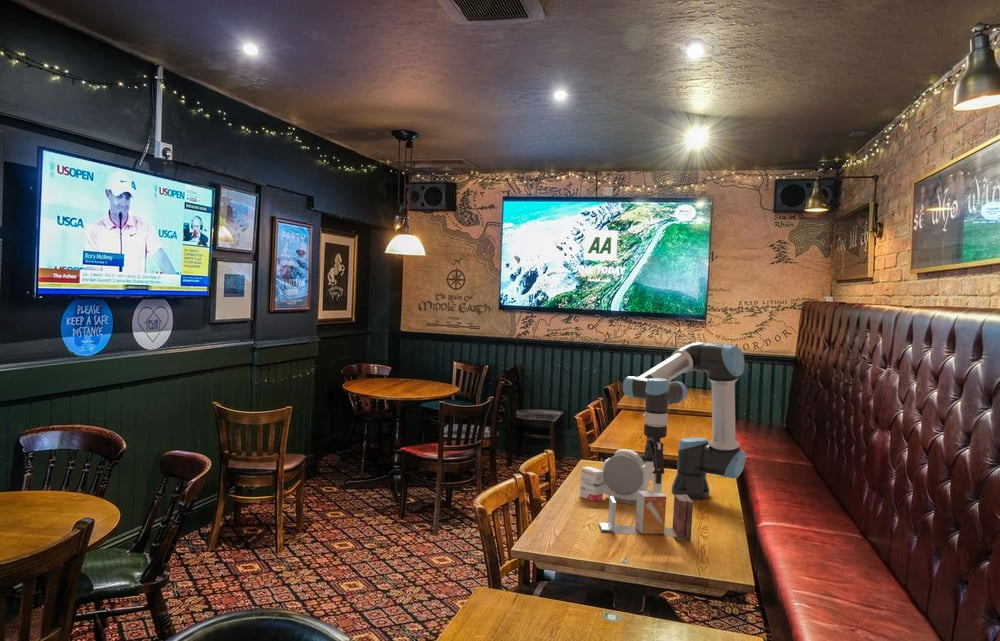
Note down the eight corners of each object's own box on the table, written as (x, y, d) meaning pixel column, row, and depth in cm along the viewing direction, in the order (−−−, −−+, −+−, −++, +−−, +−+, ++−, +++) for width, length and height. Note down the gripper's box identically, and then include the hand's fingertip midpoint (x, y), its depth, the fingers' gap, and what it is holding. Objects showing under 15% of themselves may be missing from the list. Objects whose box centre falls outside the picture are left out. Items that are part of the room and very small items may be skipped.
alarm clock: (648, 502, 257) (651, 451, 256) (643, 508, 249) (646, 456, 248) (605, 493, 265) (607, 444, 264) (598, 499, 257) (601, 449, 256)
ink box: (603, 500, 257) (604, 470, 256) (594, 502, 254) (595, 472, 253) (587, 494, 263) (589, 465, 263) (578, 496, 260) (580, 467, 260)
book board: (684, 532, 225) (686, 494, 224) (690, 541, 217) (693, 502, 216) (597, 528, 225) (599, 490, 225) (600, 537, 217) (602, 497, 217)
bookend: (611, 524, 225) (613, 496, 224) (614, 532, 218) (616, 502, 217) (599, 523, 225) (600, 495, 224) (602, 531, 218) (603, 502, 217)
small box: (642, 534, 217) (644, 496, 217) (634, 527, 223) (636, 490, 223) (664, 534, 219) (666, 496, 218) (656, 527, 225) (658, 490, 224)
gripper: (637, 416, 232) (634, 474, 233) (652, 432, 207) (649, 497, 208) (658, 417, 232) (655, 475, 233) (675, 433, 207) (672, 498, 208)
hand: (652, 486), depth 221 cm, fingers open, 13 cm apart
